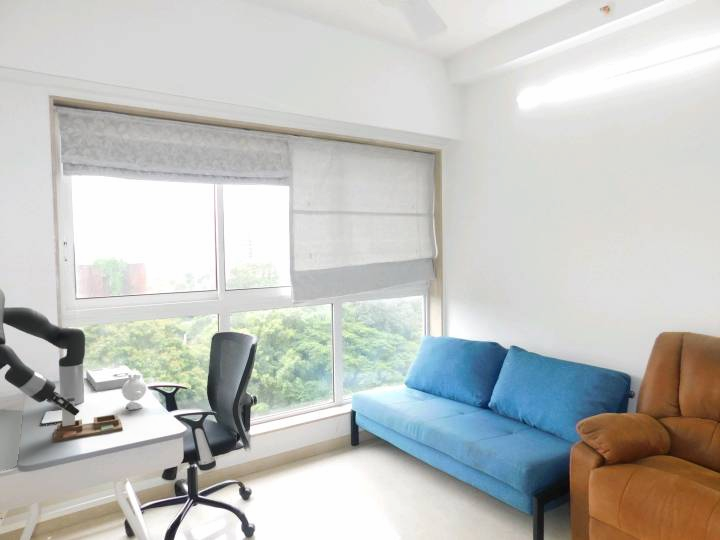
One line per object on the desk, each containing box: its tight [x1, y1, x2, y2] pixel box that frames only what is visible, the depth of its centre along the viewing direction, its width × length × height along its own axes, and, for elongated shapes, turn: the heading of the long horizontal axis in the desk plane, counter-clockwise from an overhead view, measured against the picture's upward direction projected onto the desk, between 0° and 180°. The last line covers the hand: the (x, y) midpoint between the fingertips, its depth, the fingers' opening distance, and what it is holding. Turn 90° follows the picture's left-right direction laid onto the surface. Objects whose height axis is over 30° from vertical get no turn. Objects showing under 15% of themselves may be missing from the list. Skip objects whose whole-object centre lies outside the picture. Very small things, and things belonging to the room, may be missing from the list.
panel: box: [52, 413, 123, 443], centre depth 182 cm, size 12×22×3 cm, turn 121°
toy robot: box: [120, 373, 147, 411], centre depth 210 cm, size 15×10×15 cm, turn 40°
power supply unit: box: [85, 364, 136, 392], centre depth 254 cm, size 19×33×5 cm, turn 36°
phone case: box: [39, 409, 62, 425], centre depth 197 cm, size 9×2×16 cm
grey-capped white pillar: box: [61, 395, 76, 427], centre depth 180 cm, size 4×4×10 cm
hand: (74, 411), depth 182 cm, fingers closed on grey-capped white pillar, 5 cm apart
